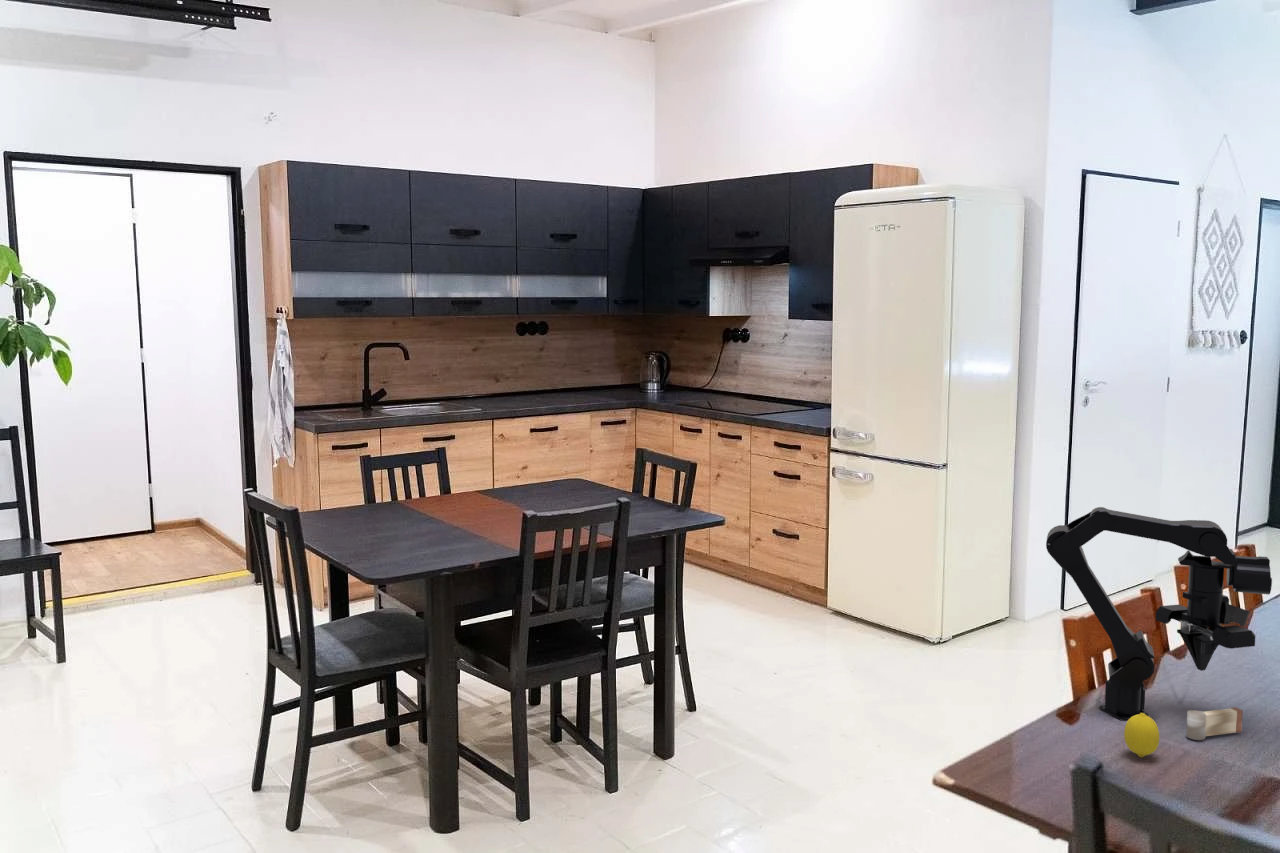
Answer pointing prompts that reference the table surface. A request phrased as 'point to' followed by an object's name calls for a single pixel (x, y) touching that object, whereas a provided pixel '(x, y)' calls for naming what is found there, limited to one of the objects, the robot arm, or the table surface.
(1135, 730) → the lemon
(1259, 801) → the table surface
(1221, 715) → the cream brown-tipped bar
